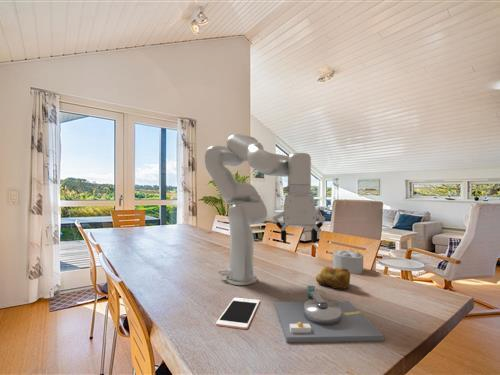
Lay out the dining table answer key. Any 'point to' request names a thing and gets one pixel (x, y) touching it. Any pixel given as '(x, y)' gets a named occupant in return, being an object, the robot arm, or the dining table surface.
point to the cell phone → (238, 313)
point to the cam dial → (321, 309)
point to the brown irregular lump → (334, 277)
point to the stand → (307, 331)
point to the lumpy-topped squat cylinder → (348, 261)
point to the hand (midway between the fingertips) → (298, 242)
